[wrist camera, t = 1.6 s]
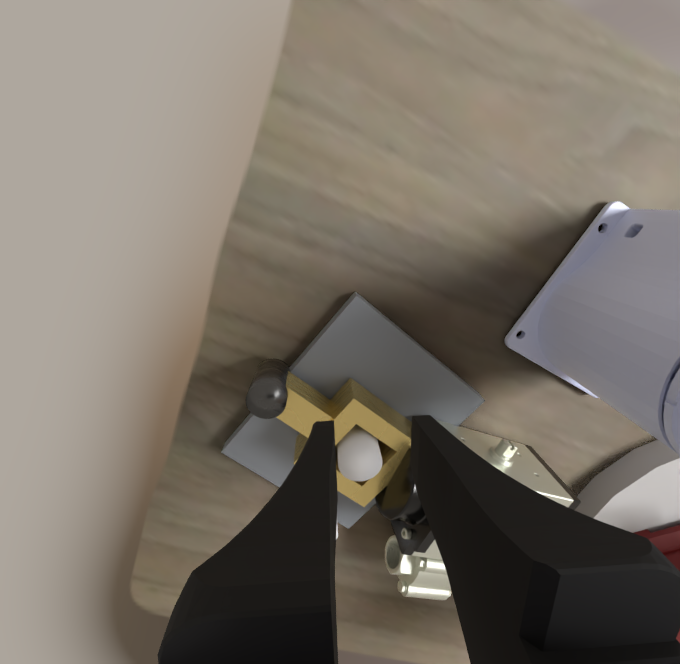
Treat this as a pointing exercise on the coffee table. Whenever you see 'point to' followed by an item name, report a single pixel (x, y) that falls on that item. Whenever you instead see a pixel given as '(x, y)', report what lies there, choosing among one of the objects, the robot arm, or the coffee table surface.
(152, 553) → the coffee table surface
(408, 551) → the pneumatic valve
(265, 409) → the square nut with handle
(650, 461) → the gramophone
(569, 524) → the robot arm
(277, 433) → the plate
